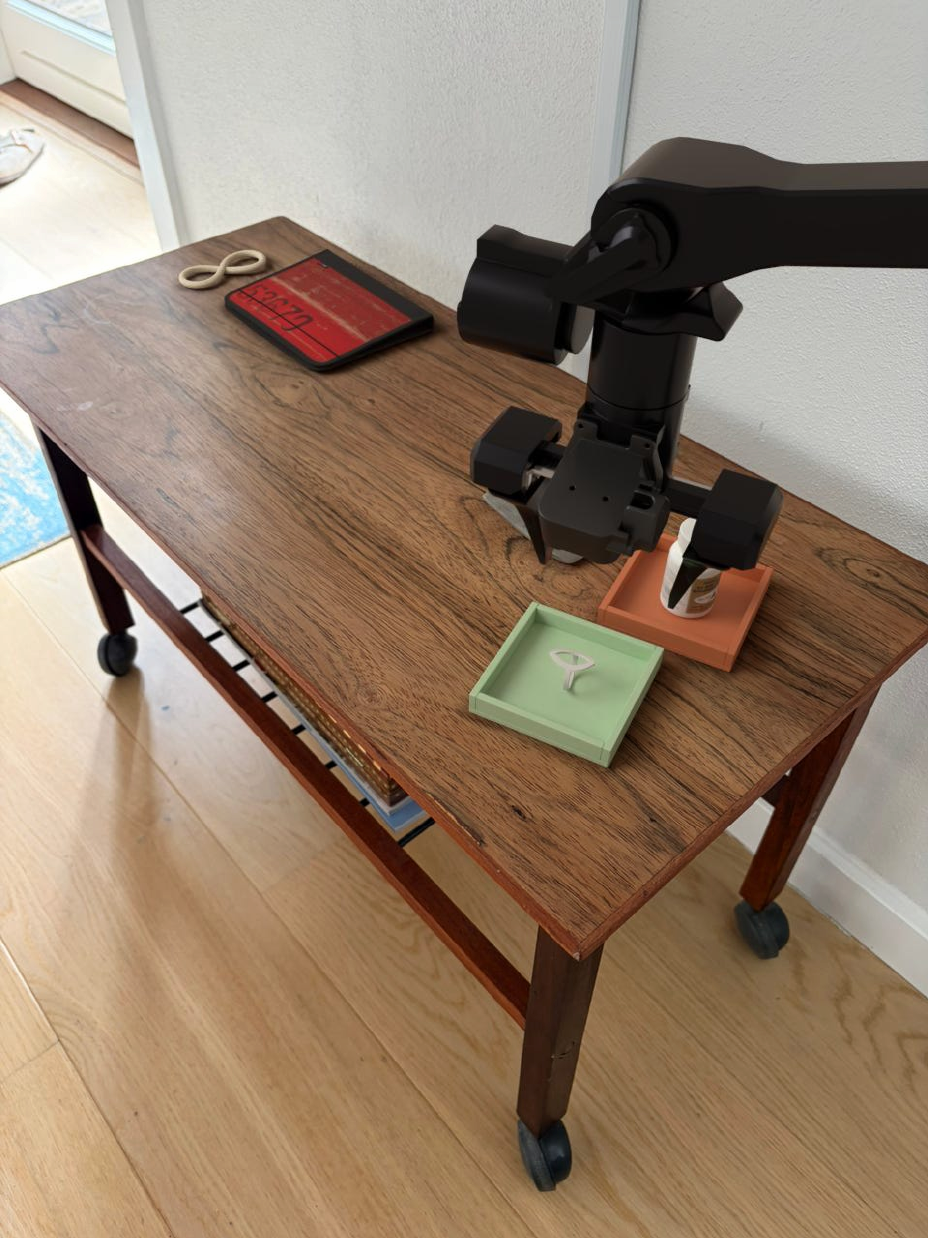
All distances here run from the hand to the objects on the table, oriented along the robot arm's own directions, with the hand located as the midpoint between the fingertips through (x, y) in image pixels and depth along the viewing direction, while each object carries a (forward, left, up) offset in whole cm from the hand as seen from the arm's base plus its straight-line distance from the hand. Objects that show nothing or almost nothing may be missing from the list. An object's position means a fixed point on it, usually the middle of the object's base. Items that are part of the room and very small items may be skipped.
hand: (607, 582), depth 69 cm
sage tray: (+2, 0, -12) cm, 12 cm away
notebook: (+49, -39, -12) cm, 64 cm away
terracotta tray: (-3, -13, -12) cm, 18 cm away
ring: (+2, 0, -12) cm, 12 cm away
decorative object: (+66, -42, -12) cm, 79 cm away
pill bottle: (-3, -13, -12) cm, 18 cm away
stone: (+12, -16, -12) cm, 23 cm away
